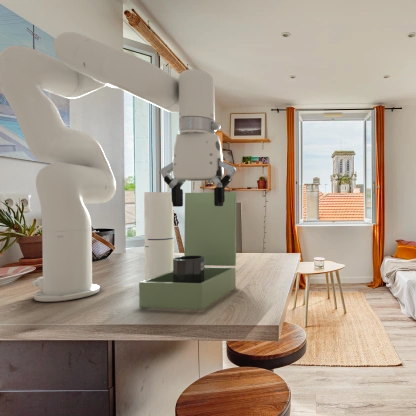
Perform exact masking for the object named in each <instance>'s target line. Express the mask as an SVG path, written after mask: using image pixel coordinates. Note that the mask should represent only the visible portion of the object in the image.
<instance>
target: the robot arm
mask: <svg viewBox="0 0 416 416" xmlns="http://www.w3.org/2000/svg"><path fill="white" fill-rule="evenodd" d="M53 51H54V53H55V56H56V57H57V58H58V59H57V58H56V57H53V56H51V55H48V54H46V53H45V52H42V51H40V50H37V49H35V48H31V47H28V46H23V45H10V46H7V47H5V48H4V49H2V51H1V52H0V91H1V93H2V95H3V97H4V98H5V100H6V102H7V103H8V105H9V106H10V108H11V110H12V111H13V114H14V116H15V118H16V121H17V124H18V127H19V129H20V131H21V133H22V135H23V138H24V140H25V142H26V145H27V147H28V149H29V152H30V153H31V155H32V156H33V158H35V159H36V160H38V161H40V162H43V163H47V165H45V166H43V167H42V168H41V169H40V170H39V171H38V173H37V175H36V177H35V188H36V192H37V193H36V194H37V196H38V201H39V204H40V211H41V231H42V232H41V233H42V235H41V236H42V239H41V240H42V243H41V244H42V276H38V278H37V279H36V280H33V281H32V282H31V286H32V287H39V291H37V292H35V293H34V294H33V299H34V301H37V302H41V303H42V302H43V303H44V302H45V303H50V302H51V303H52V302H64V301H70V300H71V301H72V300H76V299H81V298H86V297H89V296H93V295H95V294H97V293H99V292H100V289H101V287H100V285H98V284H94V283H93V244H92V243H93V241H92V239H93V237H92V236H93V234H92V233H93V232H92V231H93V230H92V228H93V227H92V218H91V215H90V213H89V210H88V208H87V207H86V205H85V204H92V205H93V204H94V205H95V204H105V203H107V202H109V201H111V200H112V199H113V197H114V196H115V194H116V192H117V182H116V178H115V175H114V173H113V171H112V169H111V166H110V163H109V160H108V159H107V157H106V155H105V152H104V150H103V148H102V145H101V144H100V143H99V141H98V140H97V139H96V138H95V137H94V136H92V135H91V134H90V133H89V134H88V133H86V132H84V131H80V130H76V129H73V128H71V127H68V126H67V125H66V123H65V122H64V121H63V119H62V117H61V114H60V111H59V109H58V107H57V106H56V105H55V103H54V102H53V101H52V100H51V98H49V97H48V96H47V94H45V92H47V93H51V94H54V95H56V96H59V97H62V98H65V99H78V98H82V97H84V96H86V95H88V94H89V95H90V93H93V92H95V91H97V90H100V89H102V88H104V87H106V86H107V87H109V88H113V89H119V90H121V91H124V92H126V93H128V94H130V95H132V96H134V97H136V98H138V99H141V100H143V101H145V102H147V103H149V104H152V105H154V106H156V107H157V108H160V109H162V110H164V111H166V112H168V113H173V114H175V113H178V133H177V134H176V137H175V141H174V147H173V155H172V162H171V163H169V164H167V165H165V166H163V167H162V168H161V169H160V170H159V172H160V174H161V176H162V179H163V181H164V183H166V184H167V185H168V188H169V189H171V193H172V203H173V207H176V208H177V207H178V208H179V207H181V208H182V207H183V206H184V190H183V189H182V188H181V187H183V185H184V184H185V183H186V181H188V182H204V181H205V182H206V181H207V182H208V181H209V182H210V181H211V182H213V184H214V185H215V187H214V189H213V192H214V205H215V206H223V202H224V201H225V192H226V190H225V189H226V188H228V187H227V186H228V185H229V184H230V183H231V182H232V180H233V177H234V176H235V174H236V172H237V168H236V167H235V166H233V165H231V164H229V163H227V162H225V161H224V160H223V159H224V158H223V152H222V145H221V140H220V136H219V135H218V134H216V133H217V130H221V129H222V128H221V123H220V122H217V121H216V113H215V112H216V107H215V106H216V105H215V104H216V101H215V99H216V98H215V97H216V94H215V93H216V92H215V79H214V77H213V76H212V75H211V74H210V73H208V72H207V71H204V70H201V69H194V68H192V69H191V68H190V69H186V70H182V71H181V72H180V73H179V76H178V78H177V77H176V76H173V75H171V74H170V73H168V72H166V71H165V70H164V69H162V68H160V67H159V66H157V65H156V64H153V63H151V62H149V61H147V60H145V59H143V58H141V57H139V56H136V55H134V54H131V53H129V52H127V51H124V50H119V49H116V48H114V47H112V46H109V45H107V44H104V43H102V42H100V41H98V40H96V39H93V38H91V37H88V36H86V35H83V34H81V33H77V32H73V31H67V32H62V33H59V34H58V35H57V36H56V37H55V38H54V41H53ZM44 91H45V92H44ZM224 170H225V171H226V174H225V175H224ZM171 172H172V175H173V177H172V176H171Z"/></svg>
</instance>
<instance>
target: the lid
mask: <svg viewBox="0 0 416 416" xmlns="http://www.w3.org/2000/svg"><path fill="white" fill-rule="evenodd" d="M183 243H184V245H183V246H184V247H183V248H184V249H183V250H184V251H183V252H184V253H183V256H191V255H192V256H193V255H196V256H204V266H211V267H236V266H237V192H236V191H225V201H224V202H223V206H215V205H214V191H212V192H211V191H210V192H209V191H208V192H185V193H184V242H183Z"/></svg>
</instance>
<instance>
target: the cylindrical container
mask: <svg viewBox="0 0 416 416" xmlns="http://www.w3.org/2000/svg"><path fill="white" fill-rule="evenodd" d="M143 195H144V196H143V197H144V199H143V201H144V208H143V209H144V211H143V213H144V215H143V216H144V217H143V218H144V281H145V280H148V279H150V278H153V277H156V276H159V275H162V274H165V273H168V272H171V271H173V258H175V238H174V237H175V228H174V226H175V223H174V222H175V219H174V218H175V217H174V215H175V213H174V212H175V211H174V210H175V209H174V207H173V203H172V192H171V191H170V192H168V191H145V192H144V194H143Z"/></svg>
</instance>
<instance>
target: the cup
mask: <svg viewBox="0 0 416 416" xmlns="http://www.w3.org/2000/svg"><path fill="white" fill-rule="evenodd" d="M204 267H205V265H204V256H196V255H193V256H192V255H191V256H184V255H182V256H181V255H179V256H174V258H173V282H176V283H202V282H204Z"/></svg>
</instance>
